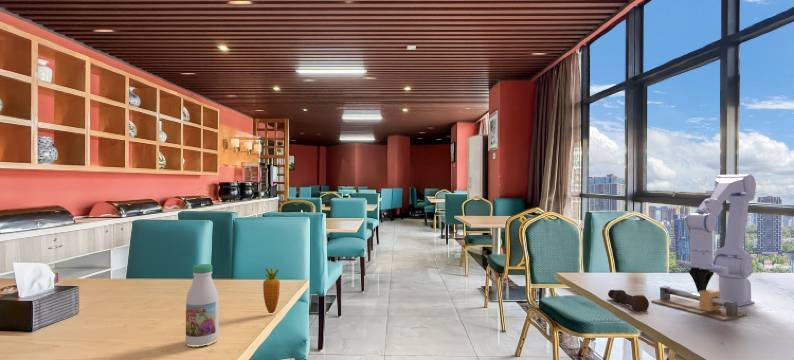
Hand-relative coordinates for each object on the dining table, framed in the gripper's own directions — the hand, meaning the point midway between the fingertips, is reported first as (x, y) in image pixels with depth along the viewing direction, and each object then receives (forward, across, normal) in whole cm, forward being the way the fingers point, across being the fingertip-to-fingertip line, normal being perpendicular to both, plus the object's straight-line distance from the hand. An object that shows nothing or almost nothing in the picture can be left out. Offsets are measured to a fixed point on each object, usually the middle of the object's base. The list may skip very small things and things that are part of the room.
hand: (701, 292), depth 133 cm
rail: (+6, -2, 0) cm, 6 cm away
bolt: (+6, -14, -16) cm, 23 cm away
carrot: (+6, -55, -126) cm, 138 cm away
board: (+6, -2, 0) cm, 6 cm away
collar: (+5, +2, 0) cm, 5 cm away
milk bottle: (+6, -40, -146) cm, 151 cm away
